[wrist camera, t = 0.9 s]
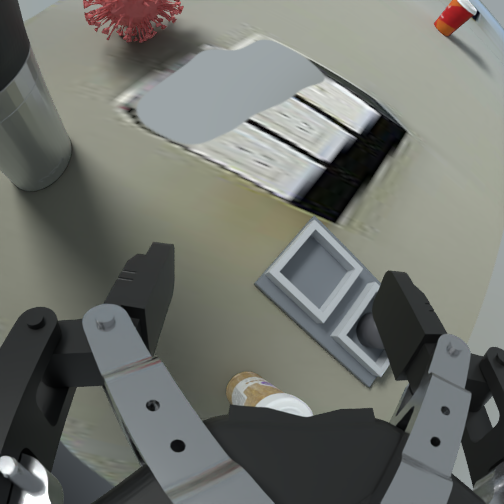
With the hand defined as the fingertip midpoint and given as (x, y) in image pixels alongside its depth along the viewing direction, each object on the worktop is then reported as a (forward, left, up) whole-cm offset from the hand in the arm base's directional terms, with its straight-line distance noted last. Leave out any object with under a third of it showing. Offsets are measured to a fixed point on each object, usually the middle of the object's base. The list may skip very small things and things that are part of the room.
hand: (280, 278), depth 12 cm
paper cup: (-4, +96, -24) cm, 99 cm away
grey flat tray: (+12, +11, -24) cm, 28 cm away
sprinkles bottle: (+9, -4, -24) cm, 26 cm away
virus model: (-37, +21, -24) cm, 48 cm away
